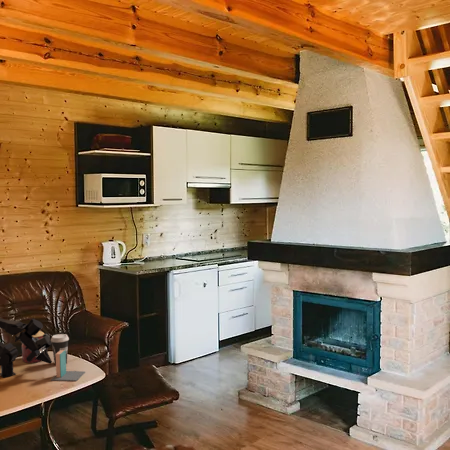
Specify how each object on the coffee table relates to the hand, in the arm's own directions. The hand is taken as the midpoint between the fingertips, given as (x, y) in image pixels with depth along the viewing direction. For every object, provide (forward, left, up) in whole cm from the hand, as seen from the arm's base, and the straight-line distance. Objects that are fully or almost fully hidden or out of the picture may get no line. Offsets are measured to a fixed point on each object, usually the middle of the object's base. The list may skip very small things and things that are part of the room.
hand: (51, 362), depth 273 cm
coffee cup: (-16, +12, -7) cm, 21 cm away
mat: (+6, +6, -7) cm, 11 cm away
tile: (+4, +3, -6) cm, 8 cm away
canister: (-32, +4, -7) cm, 33 cm away
